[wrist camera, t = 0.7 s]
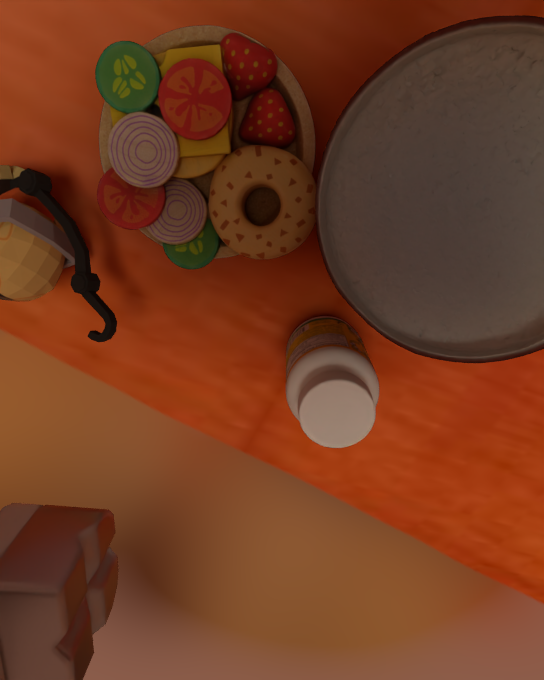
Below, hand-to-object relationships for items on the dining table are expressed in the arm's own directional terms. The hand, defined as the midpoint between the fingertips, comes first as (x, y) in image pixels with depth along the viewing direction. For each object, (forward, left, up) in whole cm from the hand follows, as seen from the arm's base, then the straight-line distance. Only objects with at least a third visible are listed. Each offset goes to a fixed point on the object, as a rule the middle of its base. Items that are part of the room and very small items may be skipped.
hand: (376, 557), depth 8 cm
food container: (-4, +5, -14) cm, 15 cm away
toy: (-7, -22, -25) cm, 35 cm away
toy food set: (-7, -6, -26) cm, 28 cm away
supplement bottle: (+6, +1, -27) cm, 27 cm away
